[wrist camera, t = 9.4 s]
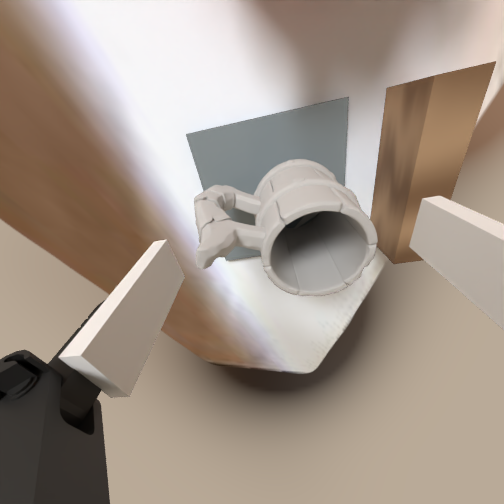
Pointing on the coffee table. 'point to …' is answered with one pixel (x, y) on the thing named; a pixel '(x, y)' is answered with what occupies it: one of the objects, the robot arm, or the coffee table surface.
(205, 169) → the plate
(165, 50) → the coffee table surface
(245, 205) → the mug
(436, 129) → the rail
